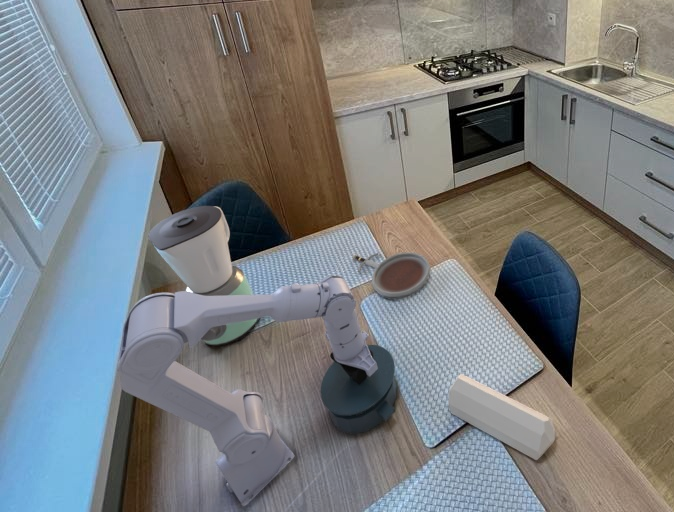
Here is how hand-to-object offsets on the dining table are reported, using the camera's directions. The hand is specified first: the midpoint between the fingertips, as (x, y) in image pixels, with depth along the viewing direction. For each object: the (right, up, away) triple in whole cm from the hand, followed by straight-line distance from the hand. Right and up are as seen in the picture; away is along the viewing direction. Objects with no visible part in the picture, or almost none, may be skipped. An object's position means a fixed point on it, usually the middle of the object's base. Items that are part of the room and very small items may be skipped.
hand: (358, 376), depth 85 cm
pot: (0, -8, +4) cm, 8 cm away
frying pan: (-5, +8, +38) cm, 39 cm away
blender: (-41, 0, +22) cm, 46 cm away
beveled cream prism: (+30, -9, -1) cm, 31 cm away
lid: (0, -1, 0) cm, 1 cm away
